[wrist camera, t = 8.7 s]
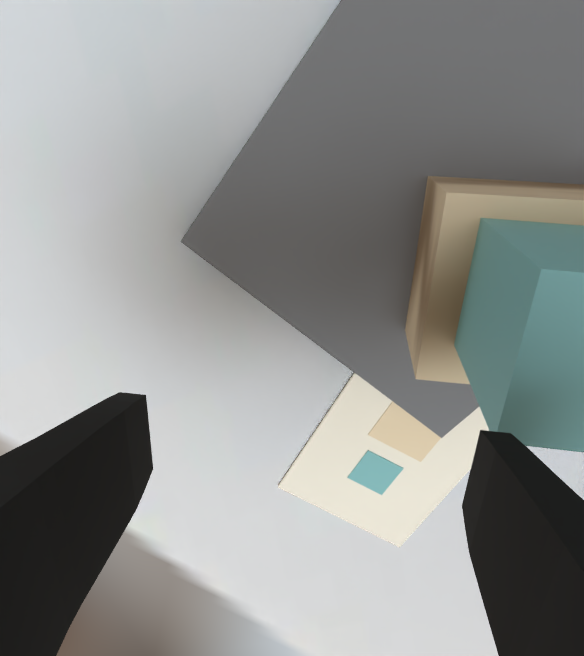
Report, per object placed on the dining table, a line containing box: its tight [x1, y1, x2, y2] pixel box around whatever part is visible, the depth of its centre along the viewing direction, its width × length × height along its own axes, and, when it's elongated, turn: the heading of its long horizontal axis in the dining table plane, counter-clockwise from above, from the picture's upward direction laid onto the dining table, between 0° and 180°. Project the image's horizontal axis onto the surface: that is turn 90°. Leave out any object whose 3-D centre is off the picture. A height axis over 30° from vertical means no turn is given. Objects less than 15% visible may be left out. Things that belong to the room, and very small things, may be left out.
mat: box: [181, 0, 584, 438], centre depth 17 cm, size 20×14×1 cm
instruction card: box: [278, 373, 489, 547], centre depth 22 cm, size 10×7×1 cm
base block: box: [405, 176, 584, 384], centre depth 16 cm, size 6×6×4 cm
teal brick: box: [454, 218, 584, 452], centre depth 12 cm, size 4×4×5 cm
